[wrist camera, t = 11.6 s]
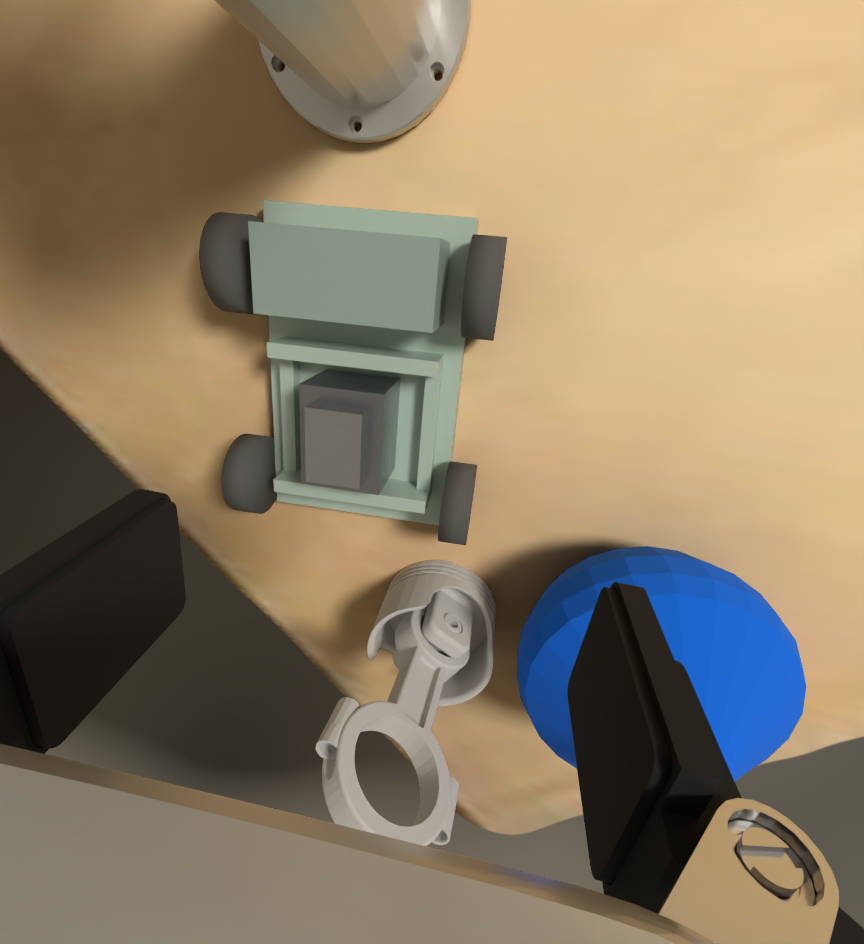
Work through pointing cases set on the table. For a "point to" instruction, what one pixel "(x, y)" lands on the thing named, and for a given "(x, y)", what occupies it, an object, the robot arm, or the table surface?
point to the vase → (673, 649)
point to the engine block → (348, 430)
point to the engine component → (415, 693)
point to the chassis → (359, 341)
